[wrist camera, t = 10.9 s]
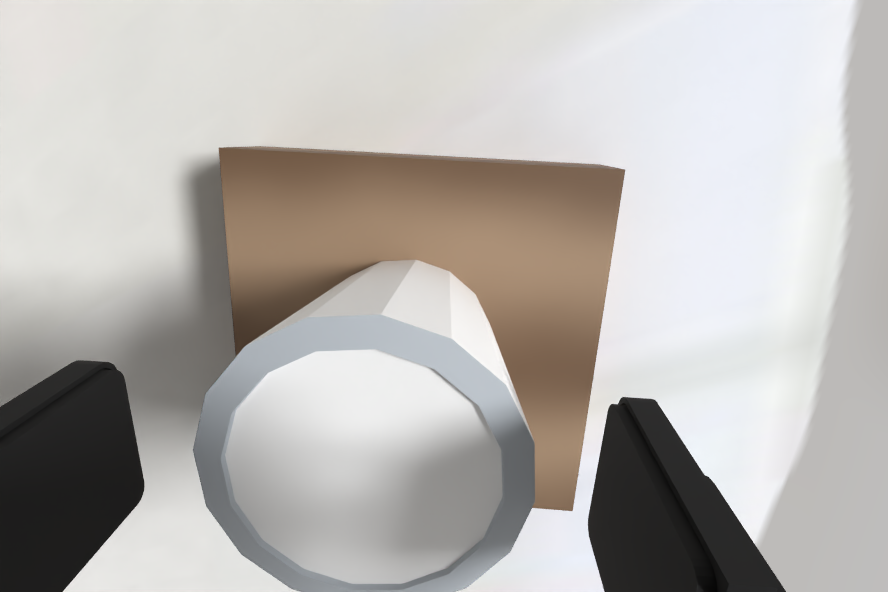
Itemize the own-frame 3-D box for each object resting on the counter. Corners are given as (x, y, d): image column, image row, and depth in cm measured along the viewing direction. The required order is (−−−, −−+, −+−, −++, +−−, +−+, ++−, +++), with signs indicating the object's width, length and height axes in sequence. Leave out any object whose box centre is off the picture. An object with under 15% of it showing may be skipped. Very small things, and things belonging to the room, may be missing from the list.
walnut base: (259, 146, 18) (218, 147, 15) (600, 164, 17) (624, 169, 15) (276, 438, 21) (246, 484, 19) (558, 460, 21) (572, 511, 18)
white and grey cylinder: (298, 417, 18) (191, 588, 11) (308, 224, 15) (186, 288, 9) (492, 446, 18) (505, 635, 11) (528, 256, 15) (573, 345, 9)
